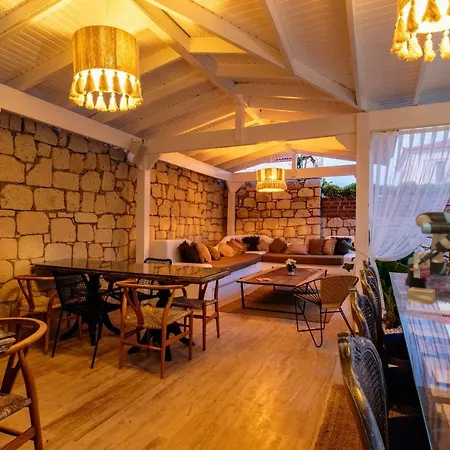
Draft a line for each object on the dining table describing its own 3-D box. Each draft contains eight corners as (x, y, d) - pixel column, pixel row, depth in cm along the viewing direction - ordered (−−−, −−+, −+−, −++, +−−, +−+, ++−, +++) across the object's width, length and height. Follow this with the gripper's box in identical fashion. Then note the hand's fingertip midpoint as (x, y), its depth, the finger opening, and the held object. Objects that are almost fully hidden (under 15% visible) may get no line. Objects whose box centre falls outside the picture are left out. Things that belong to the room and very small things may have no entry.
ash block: (411, 298, 244) (412, 287, 244) (434, 301, 235) (435, 289, 235) (407, 301, 235) (407, 289, 235) (431, 305, 226) (431, 292, 226)
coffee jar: (428, 295, 252) (428, 270, 252) (411, 294, 254) (412, 270, 254) (422, 292, 263) (423, 268, 262) (407, 291, 265) (407, 268, 264)
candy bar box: (423, 276, 240) (423, 252, 239) (430, 277, 235) (430, 252, 235) (412, 277, 234) (413, 252, 234) (420, 278, 230) (420, 253, 230)
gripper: (444, 250, 215) (416, 272, 226) (453, 248, 232) (426, 268, 243) (434, 241, 219) (407, 263, 229) (444, 239, 236) (418, 260, 247)
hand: (417, 266), depth 236 cm, fingers closed on candy bar box, 12 cm apart
